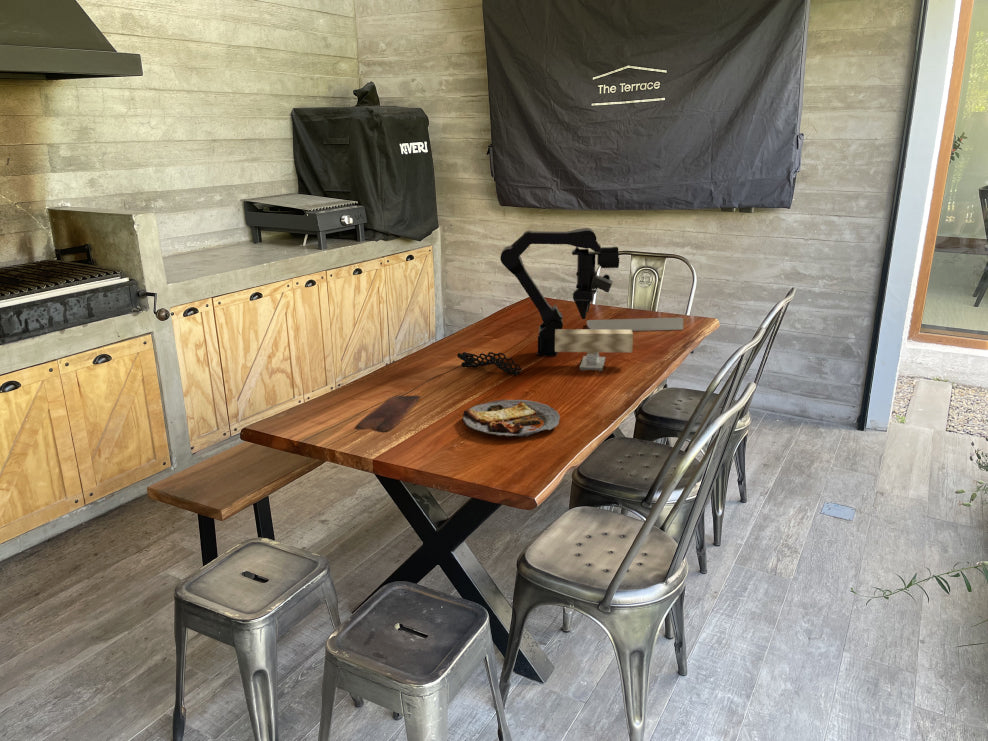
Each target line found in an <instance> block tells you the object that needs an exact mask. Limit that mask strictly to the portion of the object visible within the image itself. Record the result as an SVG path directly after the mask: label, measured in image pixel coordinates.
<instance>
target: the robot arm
mask: <svg viewBox="0 0 988 741" xmlns="http://www.w3.org/2000/svg"><path fill="white" fill-rule="evenodd" d="M531 245H568V246H571V247H572V246H573V247H575V248H574V249H573V250H572V251H571V255H572V256H577V258H576V260H577V262H576V263H577V264H576V265H577V267H576V268H577V270H576V285H575V286H576V287H575V290H574V291H573V293H572V299H573V302H574V304H575V306H576V308H577V310H578V314H579V316H580V317H581V319H582V320H586V317H587V313H589V310H590V306H591V303H592V302H593V300H594V295H595V294H596V293H597V292H598V289H599V290H600V291H603V292H604V293H609V292H610V290H611V287H612V285H613V283H614V281H613V280H612V279H611V276H610V274H608V273H607V274H606V273H605V274H604V275H603V276H602V275H597V270H596V263H597V266H599V267H600V269H619V266H620V256H619V247H618V246H608V247H603V246H602V245H601V244H600V243H598V241H597V236H596V233H595V231H594V230H593V229H591V228H590V227H584V228H583V227H582V228H578V229H574V230H568V231H539V230H538V231H537V230H536V231H532V230H525V231H524V232H523V233H522V235H521V236H520V237H519V238H518V239H517V240H515V242H513V243H512V244H511V245H508V246H505V247H504V248H503V249H502V250H501V253H500V257H499V258H500V259H499V260H500V262H501V264H502V265H503V266H504V267H505V269H507V270H508V272H510V273H511V274H512V275H514V276H515V277H516V279H517V280H518V282H519V283H520V285H521V286H522V288H523V290H524V291H525V292H526V294H527V295H528V297H529V298H530V300H531V302H532V303H533V304H534V306H535V307H536V309H537V311H538V312H539V314H540V318H541V320H542V323H541V324H540V325H539V327H538V335H537V352H536V355H537V356H542V357H543V356H546V357H547V356H548V357H556V356H558V354H559V352H555V329H563V327H564V323H563V322H564V321H563V318H564V317H563V313H562V312H560V310H559V309H558V307H557V304H554V305H553V306H552V305H551V304H549V302H548V300H546V298H545V296H544V294H542V292H541V290H540V289H539V287H538V286H537V284H536V282H535V281H534V280H533V278H532V277H531V275H530V274H529V272H528V270H527V269H526V267H525V264H524V262H523V259H522V257H521V255H523V253H524V252H525V251H526V250H527V248H529V247H530V246H531ZM589 249H590V250H592V251H589Z"/></svg>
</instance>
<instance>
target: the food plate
mask: <svg viewBox="0 0 988 741" xmlns="http://www.w3.org/2000/svg"><path fill="white" fill-rule="evenodd" d="M560 419H561V417H560V414H559V411H558V410H556V409H554V408H553V407H551V406H549V404H544V403H541V402H538V401H534V400H525V399H498V400H492V401H487V402H483V403H481V404H477V405H473V406H472V407H470V408H467V409H465V410H464V411H463V414H462V418H461V420H462V421H463V423H464V424H465V426H466V427H467V428H469V429H471V430H473V431H477V432H480V433H483V434H485V435H490V436H493V437H501V436H505V437H506V438H507V437H513V436H515V437H524V436H525V437H529V436H530V435H533V434H537V433H539V432H541V431H546V430H548V431H550V430H553V429H554V428H556V427H557V426H559V423H560ZM542 421H543V423H541V422H542ZM535 425H541V426H540V427H537V426H535Z"/></svg>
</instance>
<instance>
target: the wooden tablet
mask: <svg viewBox="0 0 988 741" xmlns="http://www.w3.org/2000/svg"><path fill="white" fill-rule="evenodd" d="M420 398H421V396H420V395H394V396H392V397H390V398H388V399H386V400H385V401H384V402H383V403H382V404H380V405H379V406H378V407H376V408H375V409H373V410H372V411H371V412H369V413H368V414H367V415H366V416H365V417H363V418H362V419H361V420H360V421H359V422H358V423H357V424H356V426H355V428H356V430H370V429H371V430H372V431H375V432H381V433H387V432H388V433H389V431H391V430H392V429H394V428H395V427H396V426H397V425H398V424H400V422H402V420H403V419H404V418H405V417H406V416H407V415H408V414H409V413H410V411H412V409H413V408H414V407H415V406H416V404H417V403H418V402H419V401H420Z"/></svg>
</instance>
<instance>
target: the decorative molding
mask: <svg viewBox="0 0 988 741" xmlns="http://www.w3.org/2000/svg"><path fill="white" fill-rule="evenodd" d="M586 326H587V329H609V330H632V332H643V331H644V332H646V331H647V332H648V331H650V332H651V331H654V332H655V331H680V330H684V317H654V318H653V317H651V318H645V317H644V318H621V319H620V318H618V319H617V318H616V319H589V320H586Z"/></svg>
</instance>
